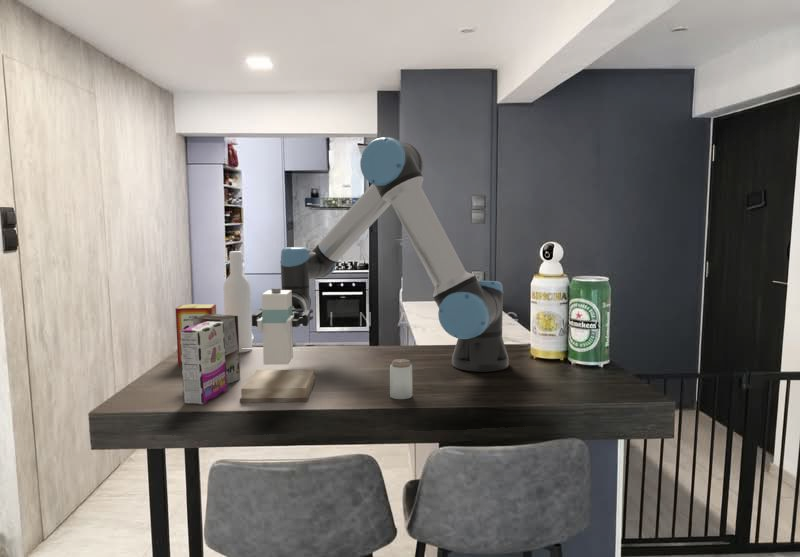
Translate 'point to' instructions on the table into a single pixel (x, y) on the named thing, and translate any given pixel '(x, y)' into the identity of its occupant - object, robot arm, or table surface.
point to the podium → (278, 386)
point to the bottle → (239, 300)
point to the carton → (276, 326)
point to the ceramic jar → (401, 379)
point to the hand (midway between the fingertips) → (273, 326)
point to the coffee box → (227, 342)
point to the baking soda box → (190, 319)
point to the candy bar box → (203, 362)
